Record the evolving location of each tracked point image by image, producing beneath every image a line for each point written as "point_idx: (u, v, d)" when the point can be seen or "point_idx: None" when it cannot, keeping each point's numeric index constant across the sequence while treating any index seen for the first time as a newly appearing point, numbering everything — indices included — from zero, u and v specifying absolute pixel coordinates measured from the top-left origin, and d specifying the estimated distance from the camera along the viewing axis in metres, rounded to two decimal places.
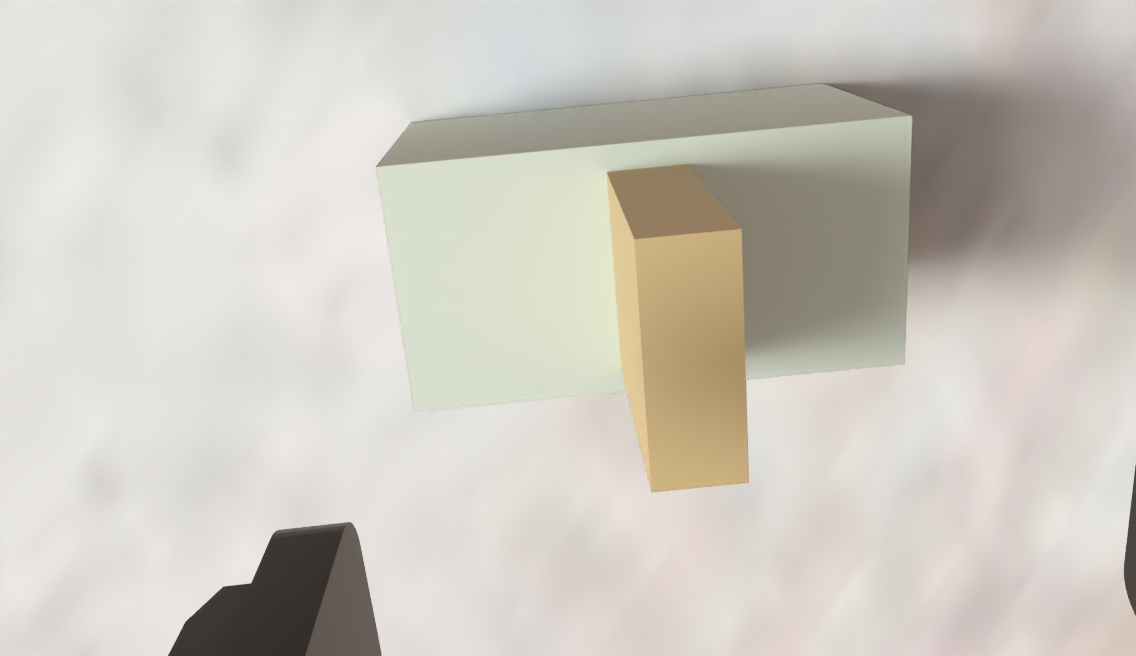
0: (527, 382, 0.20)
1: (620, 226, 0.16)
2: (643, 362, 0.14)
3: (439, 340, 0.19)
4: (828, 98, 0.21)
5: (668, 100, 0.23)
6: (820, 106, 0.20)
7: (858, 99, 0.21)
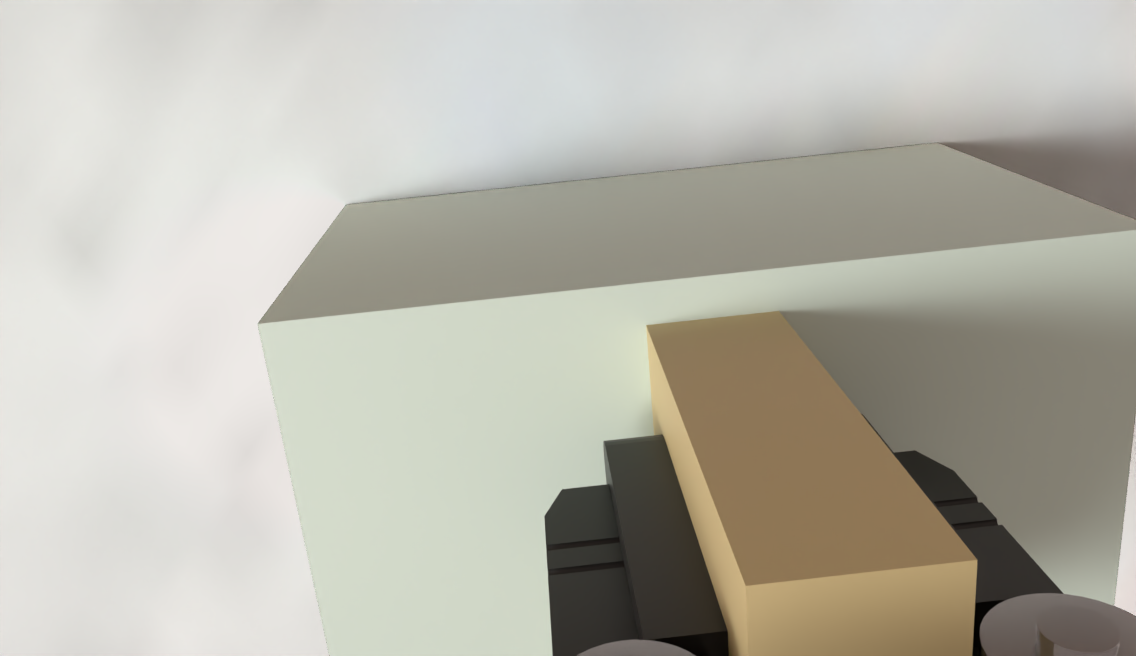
0: (517, 646, 0.12)
1: (686, 466, 0.09)
2: None
3: (375, 589, 0.12)
4: (973, 178, 0.14)
5: (720, 172, 0.16)
6: (973, 197, 0.13)
7: (1025, 182, 0.13)
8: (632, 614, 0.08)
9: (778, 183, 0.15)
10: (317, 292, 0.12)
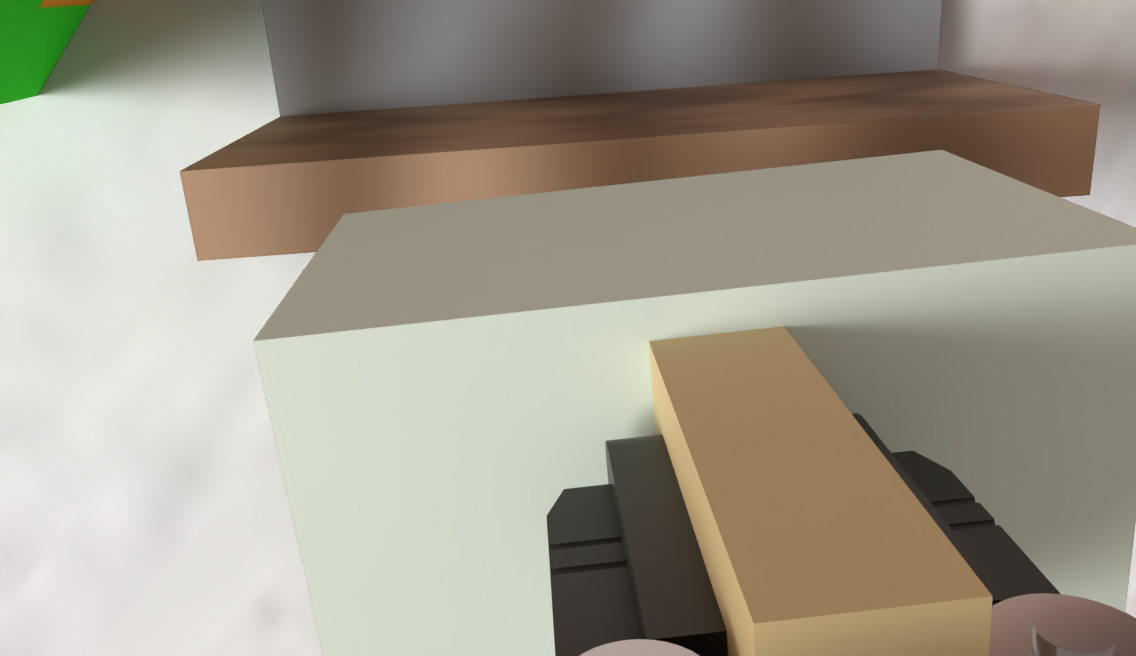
0: None
1: (691, 490, 0.08)
2: None
3: (374, 608, 0.12)
4: (979, 187, 0.14)
5: (722, 181, 0.16)
6: (979, 207, 0.13)
7: (1032, 192, 0.13)
8: (634, 614, 0.08)
9: (781, 192, 0.15)
10: (314, 307, 0.11)
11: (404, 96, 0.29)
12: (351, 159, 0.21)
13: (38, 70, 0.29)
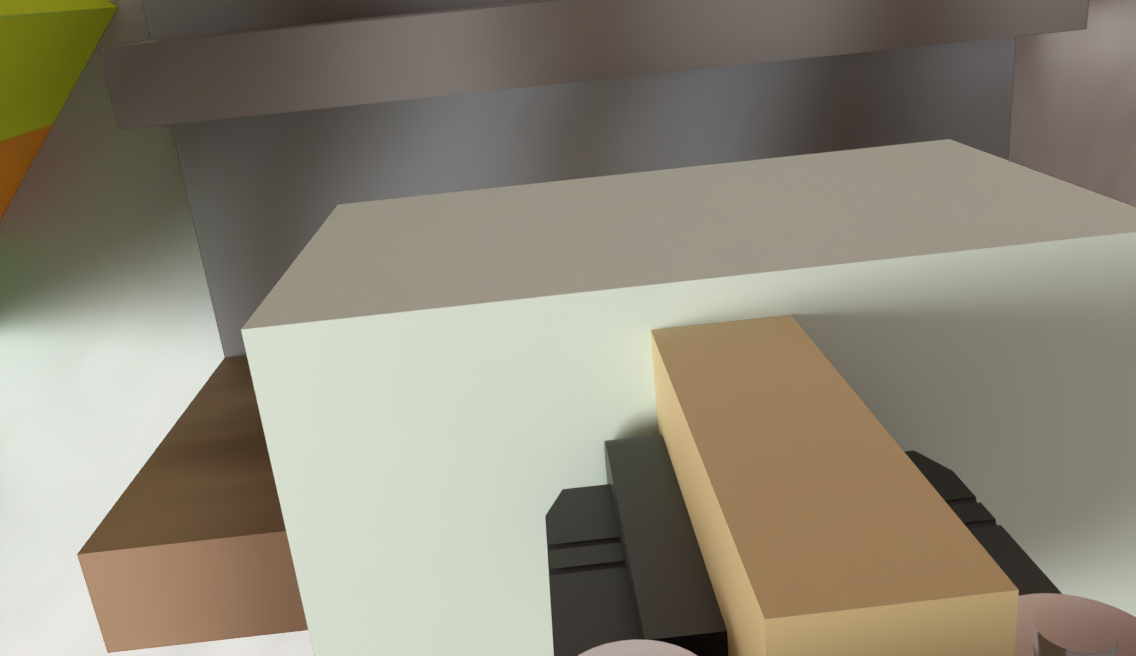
0: None
1: (695, 482, 0.08)
2: None
3: (367, 606, 0.11)
4: (989, 175, 0.13)
5: (725, 170, 0.15)
6: (991, 194, 0.12)
7: (1044, 179, 0.13)
8: (633, 614, 0.08)
9: (786, 181, 0.14)
10: (305, 296, 0.11)
11: None
12: None
13: None
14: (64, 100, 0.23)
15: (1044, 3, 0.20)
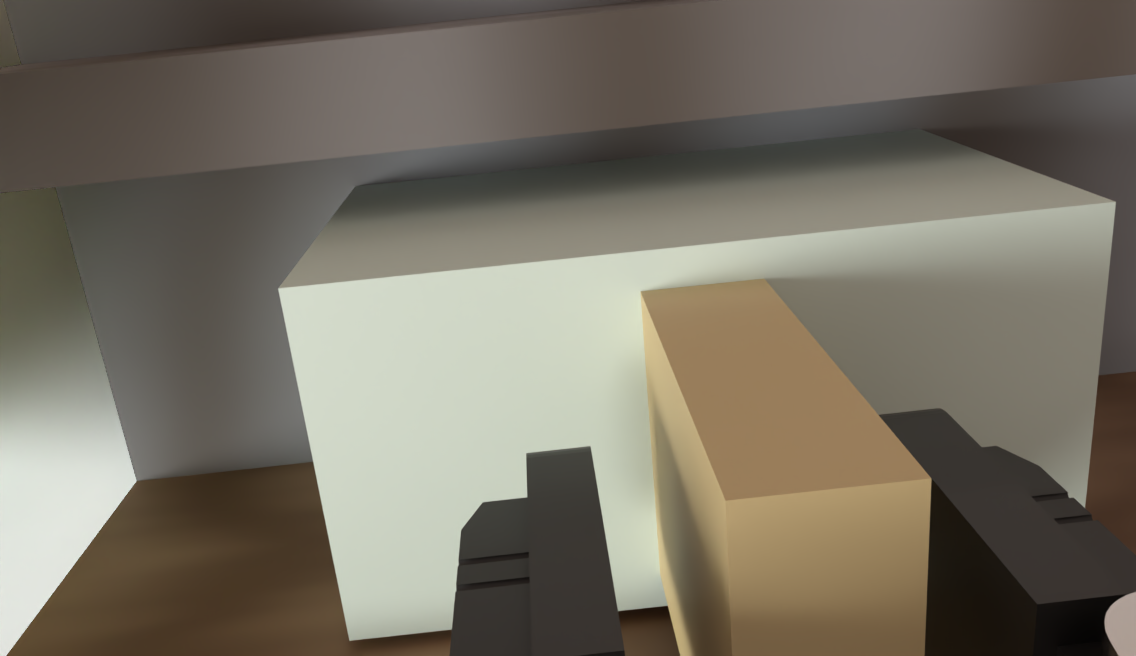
0: None
1: (676, 413, 0.09)
2: None
3: (386, 540, 0.13)
4: (950, 160, 0.15)
5: (712, 156, 0.17)
6: (949, 176, 0.14)
7: (999, 163, 0.14)
8: None
9: (767, 165, 0.16)
10: (332, 261, 0.12)
11: None
12: None
13: None
14: None
15: None
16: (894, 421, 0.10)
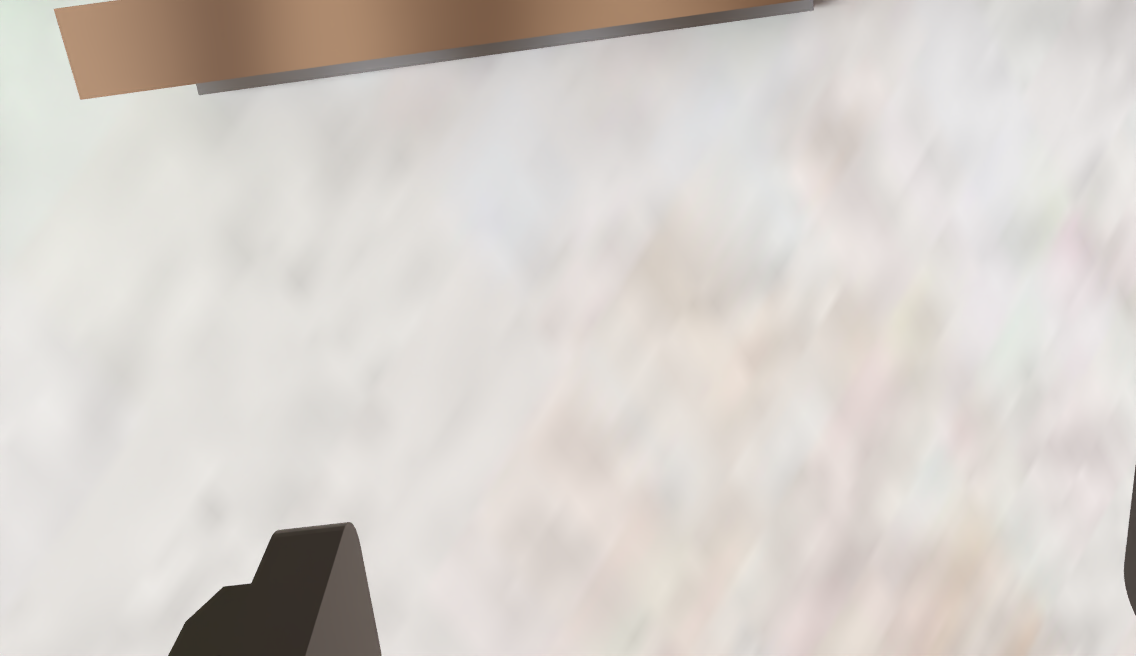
0: None
1: None
2: None
3: None
4: None
5: None
6: None
7: None
8: None
9: None
10: None
11: None
12: None
13: None
14: None
15: None
16: None
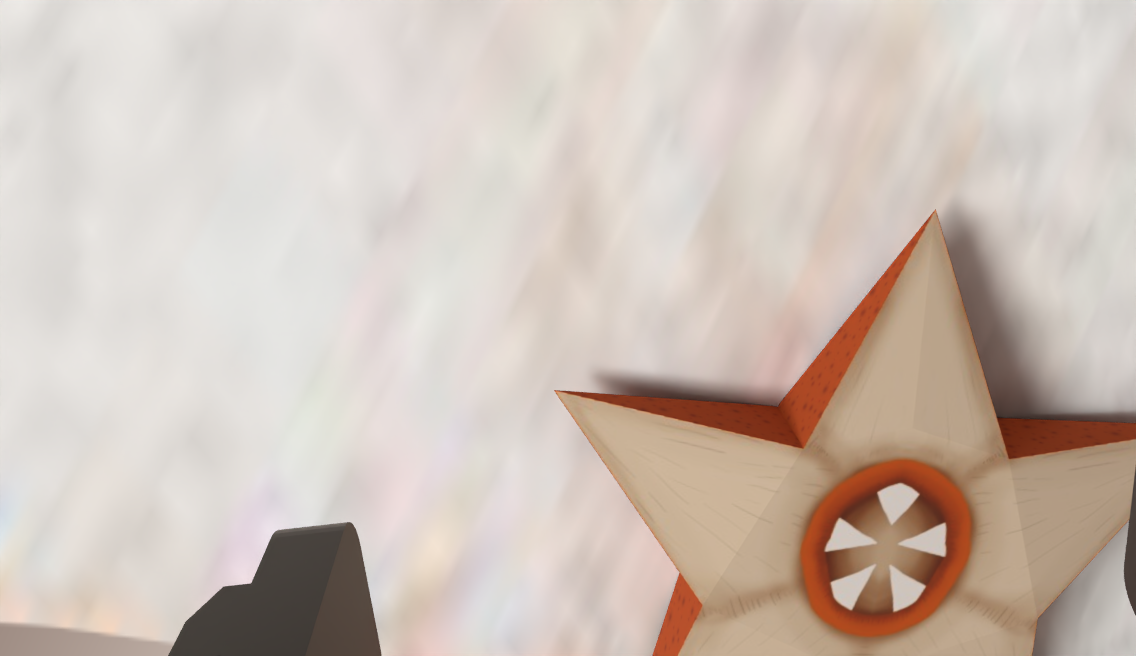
0: None
1: None
2: None
3: None
4: None
5: None
6: None
7: None
8: None
9: None
10: None
11: None
12: None
13: None
14: None
15: None
16: None
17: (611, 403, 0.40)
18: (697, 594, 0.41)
